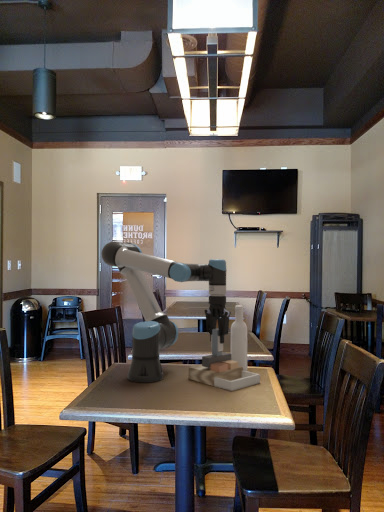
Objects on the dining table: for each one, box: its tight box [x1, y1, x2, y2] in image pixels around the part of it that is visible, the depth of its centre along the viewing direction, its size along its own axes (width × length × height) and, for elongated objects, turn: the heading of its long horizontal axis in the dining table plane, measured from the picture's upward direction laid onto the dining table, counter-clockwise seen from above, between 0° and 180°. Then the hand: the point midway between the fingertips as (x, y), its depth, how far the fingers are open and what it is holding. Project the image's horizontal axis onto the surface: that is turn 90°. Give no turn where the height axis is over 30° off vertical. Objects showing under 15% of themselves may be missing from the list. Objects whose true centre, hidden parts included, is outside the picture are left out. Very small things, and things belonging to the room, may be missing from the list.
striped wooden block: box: [188, 363, 243, 387], centre depth 178 cm, size 15×18×5 cm
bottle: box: [229, 304, 248, 371], centre depth 193 cm, size 8×8×30 cm
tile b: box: [222, 360, 239, 370], centre depth 177 cm, size 5×5×2 cm
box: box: [213, 370, 261, 392], centre depth 170 cm, size 9×18×4 cm, turn 133°
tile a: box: [210, 362, 228, 372], centre depth 172 cm, size 5×5×2 cm
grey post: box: [201, 328, 231, 368], centre depth 178 cm, size 4×14×15 cm, turn 134°
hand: (217, 350), depth 178 cm, fingers closed on grey post, 3 cm apart
